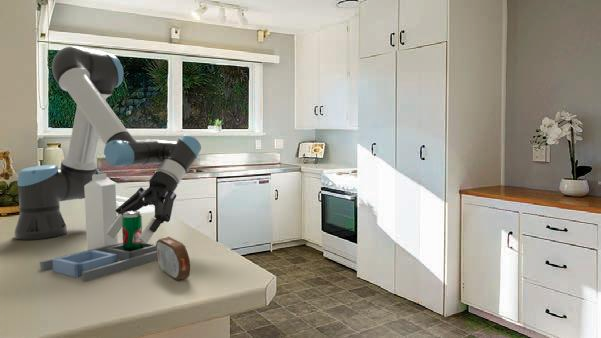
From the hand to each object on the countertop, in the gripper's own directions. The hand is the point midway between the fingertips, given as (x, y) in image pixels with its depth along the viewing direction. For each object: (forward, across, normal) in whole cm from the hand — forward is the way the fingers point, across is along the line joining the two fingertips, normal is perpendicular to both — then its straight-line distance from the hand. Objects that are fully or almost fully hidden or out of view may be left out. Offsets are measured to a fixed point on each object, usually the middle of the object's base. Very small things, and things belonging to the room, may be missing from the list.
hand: (125, 238), depth 118 cm
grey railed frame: (+7, 0, 0) cm, 7 cm away
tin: (+7, -23, 0) cm, 24 cm away
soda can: (+2, 0, -5) cm, 6 cm away
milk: (+2, +15, -6) cm, 16 cm away
